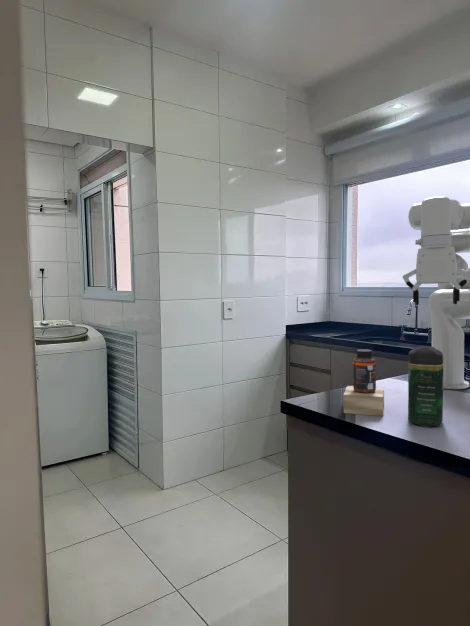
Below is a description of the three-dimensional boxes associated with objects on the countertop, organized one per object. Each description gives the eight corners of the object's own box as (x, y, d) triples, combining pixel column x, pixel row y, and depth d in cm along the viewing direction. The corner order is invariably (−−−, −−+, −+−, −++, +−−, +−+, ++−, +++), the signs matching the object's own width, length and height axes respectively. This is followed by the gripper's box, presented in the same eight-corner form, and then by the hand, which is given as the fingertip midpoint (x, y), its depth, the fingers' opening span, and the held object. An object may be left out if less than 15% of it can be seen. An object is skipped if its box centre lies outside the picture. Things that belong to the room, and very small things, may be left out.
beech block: (347, 402, 122) (347, 385, 121) (384, 405, 118) (384, 387, 118) (343, 412, 112) (343, 394, 112) (383, 416, 109) (383, 397, 108)
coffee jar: (444, 429, 98) (444, 350, 97) (407, 425, 101) (407, 349, 100) (442, 417, 107) (442, 344, 105) (409, 414, 110) (408, 343, 109)
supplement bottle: (377, 393, 112) (377, 351, 111) (354, 393, 113) (354, 351, 112) (374, 388, 117) (373, 348, 117) (352, 388, 118) (351, 348, 118)
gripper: (402, 244, 116) (402, 305, 117) (473, 239, 110) (472, 304, 111) (402, 245, 123) (402, 303, 124) (468, 241, 117) (468, 303, 118)
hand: (435, 304), depth 118 cm, fingers open, 9 cm apart
